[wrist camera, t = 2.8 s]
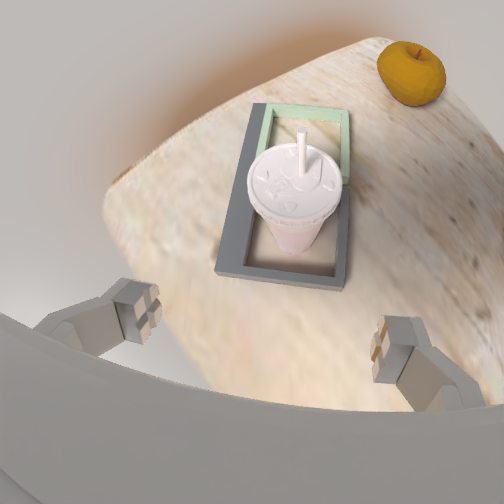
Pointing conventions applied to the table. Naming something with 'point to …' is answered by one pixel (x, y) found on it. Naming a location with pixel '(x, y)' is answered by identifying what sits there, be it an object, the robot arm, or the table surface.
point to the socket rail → (243, 212)
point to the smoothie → (294, 191)
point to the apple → (411, 73)
